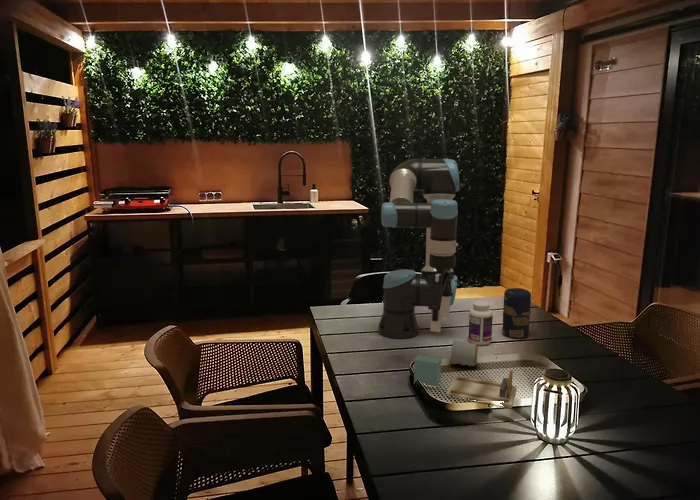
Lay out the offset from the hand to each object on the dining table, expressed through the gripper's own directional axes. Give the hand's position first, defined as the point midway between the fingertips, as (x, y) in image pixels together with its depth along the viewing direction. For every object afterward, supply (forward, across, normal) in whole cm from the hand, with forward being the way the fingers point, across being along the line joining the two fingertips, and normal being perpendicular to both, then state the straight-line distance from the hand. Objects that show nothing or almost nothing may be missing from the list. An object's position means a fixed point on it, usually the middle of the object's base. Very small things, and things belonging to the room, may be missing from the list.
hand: (440, 323), depth 164 cm
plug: (+18, -4, +3) cm, 19 cm away
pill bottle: (+18, +36, -7) cm, 41 cm away
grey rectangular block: (+18, +16, -5) cm, 25 cm away
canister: (+18, +48, -18) cm, 54 cm away
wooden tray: (+18, -4, -13) cm, 23 cm away
